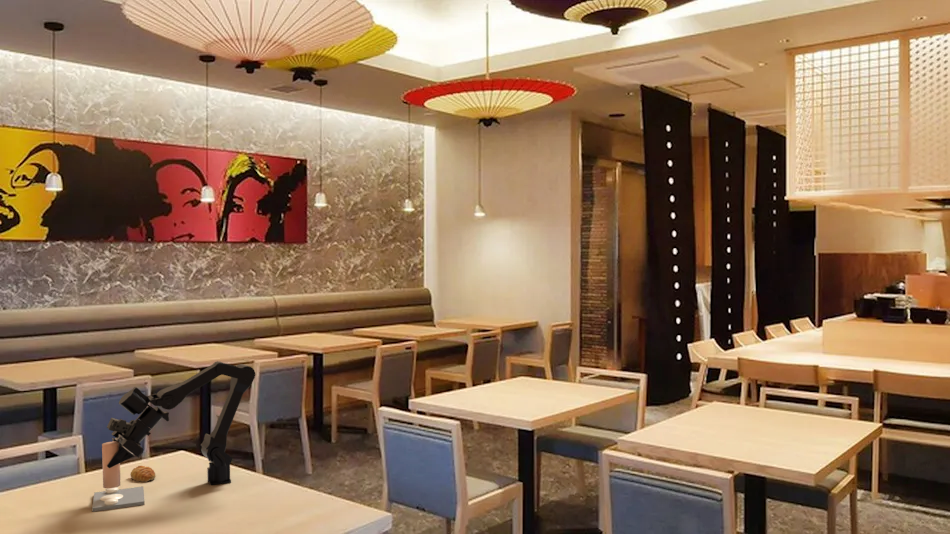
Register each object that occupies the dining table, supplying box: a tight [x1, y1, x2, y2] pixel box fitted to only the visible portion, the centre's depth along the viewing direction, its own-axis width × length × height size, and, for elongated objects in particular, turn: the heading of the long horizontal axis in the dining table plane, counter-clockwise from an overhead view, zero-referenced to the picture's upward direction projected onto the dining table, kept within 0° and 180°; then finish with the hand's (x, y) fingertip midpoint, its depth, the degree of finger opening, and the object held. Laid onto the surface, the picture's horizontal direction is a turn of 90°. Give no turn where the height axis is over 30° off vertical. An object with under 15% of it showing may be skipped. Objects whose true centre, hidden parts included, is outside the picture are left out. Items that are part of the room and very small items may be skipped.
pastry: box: [130, 465, 157, 483], centre depth 255 cm, size 9×7×4 cm
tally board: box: [91, 486, 145, 512], centre depth 233 cm, size 14×16×2 cm
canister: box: [101, 441, 122, 489], centre depth 232 cm, size 5×5×13 cm
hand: (106, 465), depth 231 cm, fingers closed on canister, 5 cm apart
